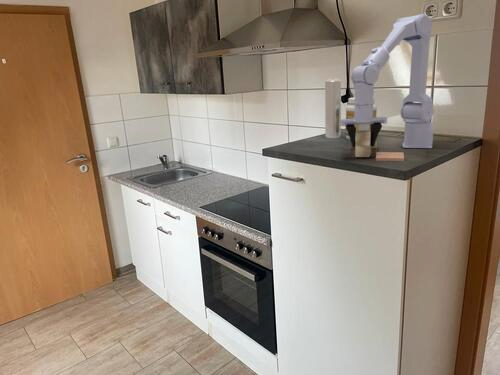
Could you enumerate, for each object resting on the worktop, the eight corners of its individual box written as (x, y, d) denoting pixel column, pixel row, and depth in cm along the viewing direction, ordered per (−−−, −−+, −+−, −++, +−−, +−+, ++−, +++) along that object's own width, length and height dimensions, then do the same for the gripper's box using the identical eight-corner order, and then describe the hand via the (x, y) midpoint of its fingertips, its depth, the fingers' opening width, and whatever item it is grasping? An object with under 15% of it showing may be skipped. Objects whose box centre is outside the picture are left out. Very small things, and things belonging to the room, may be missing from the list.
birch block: (370, 154, 129) (370, 130, 127) (369, 156, 125) (370, 132, 123) (356, 154, 130) (356, 130, 128) (355, 156, 126) (355, 132, 124)
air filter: (333, 139, 166) (333, 78, 159) (322, 137, 171) (322, 79, 164) (343, 136, 169) (344, 77, 162) (332, 135, 174) (332, 78, 167)
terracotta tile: (403, 155, 127) (403, 152, 127) (404, 161, 119) (404, 158, 119) (376, 155, 130) (376, 152, 130) (375, 160, 122) (375, 157, 122)
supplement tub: (341, 137, 168) (342, 98, 163) (368, 135, 169) (369, 96, 164) (351, 142, 156) (352, 99, 151) (380, 140, 157) (382, 97, 152)
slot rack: (377, 147, 143) (377, 140, 142) (376, 155, 130) (376, 147, 130) (353, 147, 146) (353, 140, 145) (350, 154, 133) (350, 147, 132)
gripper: (382, 102, 127) (381, 143, 131) (338, 105, 127) (338, 145, 131) (389, 103, 120) (388, 146, 124) (343, 106, 120) (342, 149, 124)
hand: (362, 146), depth 127 cm, fingers closed on birch block, 6 cm apart
